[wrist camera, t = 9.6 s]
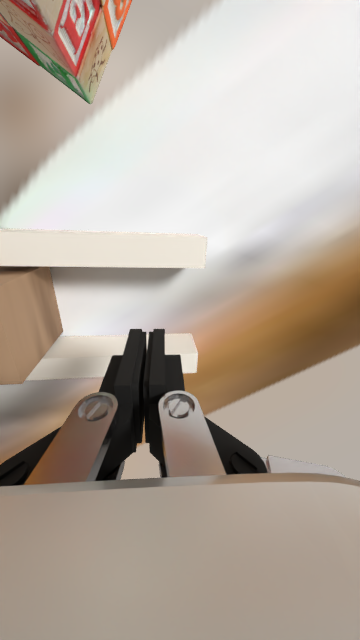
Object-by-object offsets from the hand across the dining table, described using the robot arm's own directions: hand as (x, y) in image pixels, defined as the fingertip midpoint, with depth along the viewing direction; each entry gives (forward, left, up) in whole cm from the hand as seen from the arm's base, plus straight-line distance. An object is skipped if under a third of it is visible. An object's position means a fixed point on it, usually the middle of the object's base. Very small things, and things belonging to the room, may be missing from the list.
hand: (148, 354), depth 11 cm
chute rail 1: (+3, -4, -9) cm, 11 cm away
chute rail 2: (+3, +5, -9) cm, 11 cm away
